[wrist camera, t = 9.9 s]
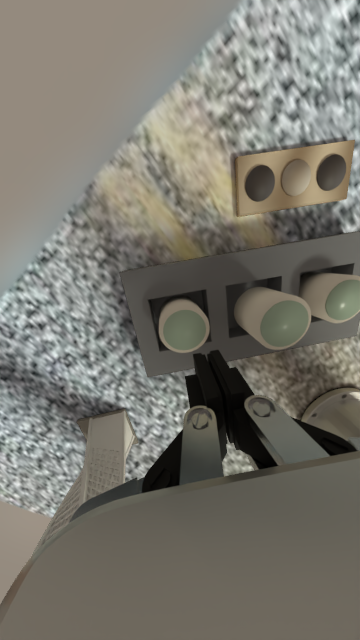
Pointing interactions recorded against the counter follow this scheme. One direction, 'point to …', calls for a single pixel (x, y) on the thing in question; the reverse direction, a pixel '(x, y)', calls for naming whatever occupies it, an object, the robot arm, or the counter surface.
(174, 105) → the counter surface
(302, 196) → the pattern card
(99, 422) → the skyscraper
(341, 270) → the grey flat block
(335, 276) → the button
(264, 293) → the button
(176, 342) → the button
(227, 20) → the counter surface
